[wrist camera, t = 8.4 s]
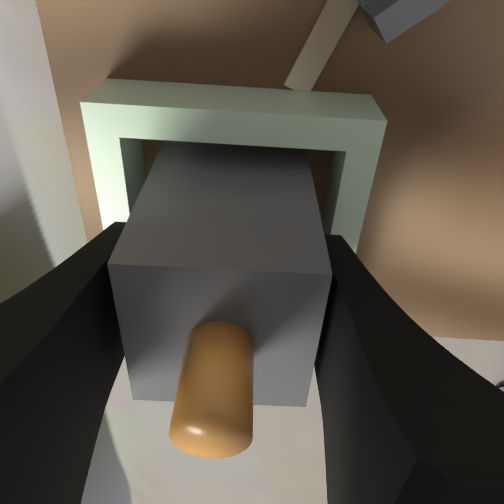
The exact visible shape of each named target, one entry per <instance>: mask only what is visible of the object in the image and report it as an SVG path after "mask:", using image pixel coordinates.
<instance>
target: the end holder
mask: <svg viewBox="0 0 504 504" xmlns="http://www.w3.org/2000/svg"><path fill="white" fill-rule="evenodd" d="M80 106H81V111H82V117H83V122H84V127H85V133H86V138H87V144H88V149H89V155H90V160H91V166H92V171H93V176H94V182H95V187H96V193H97V198H98V204H99V209H100V214H101V220H102V225H103V230H105V229H106V228H107V227H108V226H110V225H111V224H113V223H114V222H115V221H117V222H127V220H128V218H129V215H130V213H131V211H132V209H133V207H134V205H135V202H136V200H137V198H138V196H139V194H140V192H141V189H142V187H143V185H144V183H145V181H146V170H145V161H144V151H143V142H142V139H153V140H169V141H185V142H201V143H218V144H234V145H250V146H267V147H283V148H299V149H315V150H332V151H331V157H330V163H329V169H328V175H327V181H326V187H325V193H324V199H323V205H322V211H321V221H322V226H323V231H324V234H330V235H342V237H343V238H344V239H345V240H346V242H347V243H348V244H349V246H350V247H351V248H352V250H353V251H354V252H355V254H356V250H357V246H358V241H359V237H360V233H361V229H362V225H363V221H364V216H365V212H366V208H367V204H368V200H369V196H370V191H371V187H372V183H373V179H374V175H375V171H376V166H377V162H378V158H379V154H380V150H381V146H382V141H383V137H384V133H385V129H386V125H387V119H386V118H385V116H384V115H383V113H382V111H381V110H380V108H379V106H378V105H377V103H376V102H375V100H374V98H373V97H372V95H369V94H353V93H337V92H321V91H310V92H303V91H295V90H288V89H272V88H256V87H240V86H224V85H207V84H191V83H175V82H159V81H143V80H126V79H110V78H106V79H105V80H104V81H103V82H101V83H100V84H99V85H98V86H97V87H96V88H95V89H94V90H93V91H91V92H90V93H89V94H88V95H87V96H86V97H85V98H84V99H83V100H81V101H80Z"/></svg>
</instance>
